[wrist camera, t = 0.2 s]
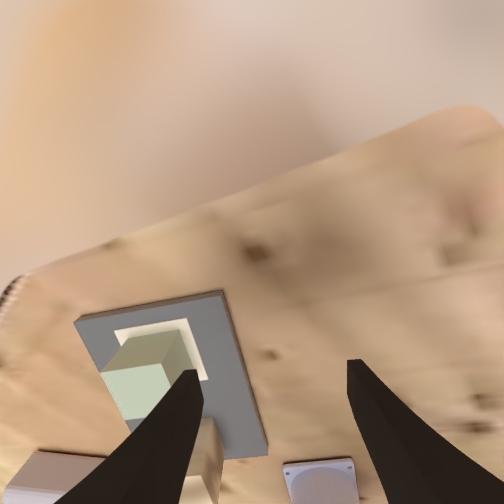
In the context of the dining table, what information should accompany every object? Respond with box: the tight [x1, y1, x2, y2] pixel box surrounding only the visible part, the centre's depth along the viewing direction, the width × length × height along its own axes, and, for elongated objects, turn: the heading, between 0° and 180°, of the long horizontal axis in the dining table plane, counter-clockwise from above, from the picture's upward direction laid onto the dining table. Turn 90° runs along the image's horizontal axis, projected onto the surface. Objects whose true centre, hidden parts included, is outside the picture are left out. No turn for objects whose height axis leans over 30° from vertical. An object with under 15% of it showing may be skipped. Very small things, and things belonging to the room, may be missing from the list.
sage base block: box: [100, 330, 194, 420], centre depth 21 cm, size 5×5×4 cm
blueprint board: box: [73, 290, 268, 460], centre depth 24 cm, size 20×14×1 cm
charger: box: [2, 451, 106, 504], centre depth 29 cm, size 5×9×15 cm
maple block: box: [179, 417, 225, 504], centre depth 23 cm, size 5×5×5 cm
